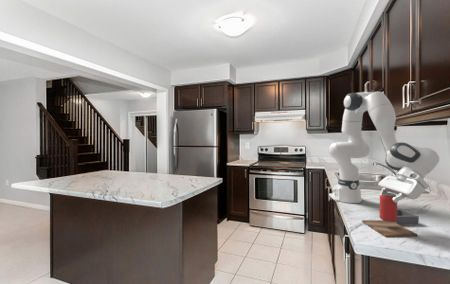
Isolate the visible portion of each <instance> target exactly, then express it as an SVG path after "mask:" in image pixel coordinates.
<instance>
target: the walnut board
mask: <svg viewBox="0 0 450 284" xmlns="http://www.w3.org/2000/svg"><path fill="white" fill-rule="evenodd" d="M361 222H363V224H364V225H365V224H366V226H367V225H368V226H367V227H369V228H370V227H371V228H370V229H372V230H373V229H374V231H375V232H377V233H378V234H380V235H381V236H383V237H385V238H391V237H392V238H395V237H396V238H397V237H398V238H400V237H402V238H403V237H418V233H416V232H415V231H412V230H411V229H408V228H406V227H405V226H403V225H399V224H397V223H395V222H389V221H385V220H382V219H377V220H376V219H374V220H373V219H372V220H371V219H369V220H366V219H365V220H361Z"/></svg>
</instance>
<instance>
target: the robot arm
mask: <svg viewBox="0 0 450 284" xmlns="http://www.w3.org/2000/svg"><path fill="white" fill-rule="evenodd" d="M343 107H344V111H343V115H342V121H341V123H342V124H341V133H342V134H343V136H346V137H347V140H348V141H337V142H333V143H331V144H330V145H329V148H328V152H329V155H330V157H332V158H333V159H334V160H335V161H336V162H337V166H338V170H339V171H338V173H339V178H338V179H337V184H336V185H334V186H333V187H332V189H331V193H328V196H330V198H331V199H332V200H333V201H336V202H341V203H346V204H359V203H360V204H361V202H362V201H364V199H363V198H362V193H361V192H362V189H361V187H360V180H359V168H358V166H357V165H356V164H353V163H352V160H351V159H362V158H367V157H368V156H369V154H370V152H371V149H370V146H369V145H368V143H366V142H365V140H364V139H363V136H362V126H363V116H364V113H366V112H368V115H369V117H370V119H371V121H372V123H373V125H374V127H375V129H376V131H377V133H378V135H379V138H380V141H381V143H382V146H383V148H384V151H385V164H386V166H387V167H388V168H390V169H391V170H393V171H396V173H395V174H394V173H392V174H389V175H386V176H385V177H384V178H383V179H381V180H380V181H379V182H378V184H377V185H378V187H379V188H380V189H381V191H380V193H379V194H378V196H379V197H380V196H381V193H393V194H395V195H396V197H393V198H392V199H391V200H392V201H393V202H395V203H397V204H398V202H399V201H402V200H404V199H405V198H407V199H409V200H417V199H418V198H420V197H421V195H423V193H424V192H425V190H427V189H429V187H430V185H429V184H428V183H427V181H426V180H424V179H425V177H426V175H428V174H430V173H431V172H432V171H434V169H435V168H436V167H437V166H438V165H439V162H440V156H439V155H438V153H437V152H436V151H435V150H434V149H432V148H429V147H418V146H414V145H412V144H411V145H410V144H409V143H406V142H398V141H397V138H396V135H395V125H396V121H397V115H396V111H395V109H394V108H395V107H394V106H393V104H392V103H391V101H390V99H389V98H388V97H387V96H386V94H385V93H384V92H382V91H374V92H369V91H361V92H351V93H347V94H346V95H345V97H344V98H343ZM397 171H398V172H397Z"/></svg>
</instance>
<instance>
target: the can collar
mask: <svg viewBox="0 0 450 284" xmlns="http://www.w3.org/2000/svg"><path fill="white" fill-rule="evenodd" d="M419 218H420V217H419V215H416V214H414V213H412V212H409V211H407V210H404V209H402V208H397V221H395V223H397V224H399V225H401V226H403V225H405V224H413V225H419V224H420V222H419ZM405 226H406V225H405Z"/></svg>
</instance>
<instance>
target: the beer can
mask: <svg viewBox="0 0 450 284" xmlns="http://www.w3.org/2000/svg"><path fill="white" fill-rule="evenodd" d="M380 193H381V192H380ZM396 196H397V194H395V193H392V192H387V193H381V196H379V218H380V220H385V221H389V222H395V221H397V209H398V202H397V203H395V202H393V201H392V200H391V199H392V198H393V197H396Z"/></svg>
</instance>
